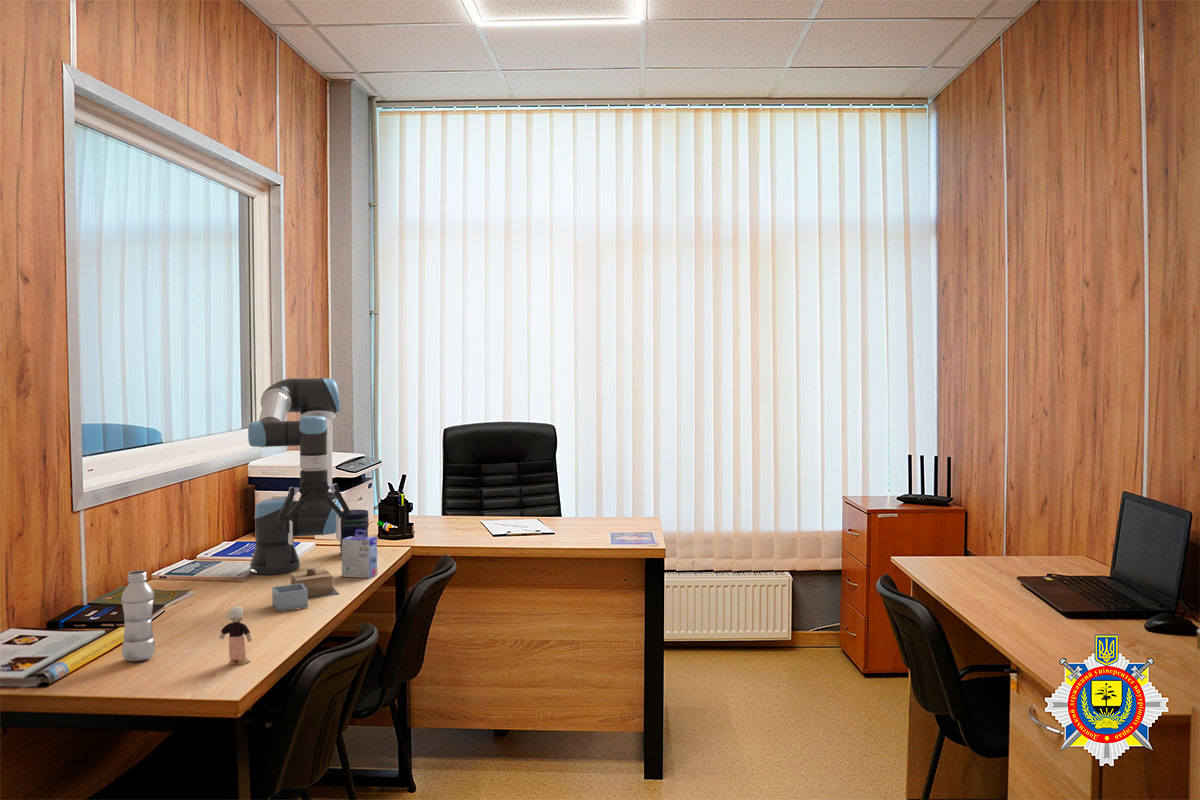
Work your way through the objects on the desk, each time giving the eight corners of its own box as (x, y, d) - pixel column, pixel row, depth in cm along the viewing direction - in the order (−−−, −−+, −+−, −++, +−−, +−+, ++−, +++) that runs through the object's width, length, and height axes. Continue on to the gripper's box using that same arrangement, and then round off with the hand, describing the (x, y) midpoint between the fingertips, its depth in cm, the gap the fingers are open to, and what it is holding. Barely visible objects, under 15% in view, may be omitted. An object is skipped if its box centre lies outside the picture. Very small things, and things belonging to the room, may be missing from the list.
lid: (290, 589, 246) (290, 567, 246) (325, 585, 251) (325, 563, 251) (296, 597, 238) (296, 575, 237) (332, 593, 243) (332, 571, 242)
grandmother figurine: (257, 659, 189) (256, 604, 188) (250, 665, 185) (249, 609, 184) (222, 659, 188) (221, 604, 188) (215, 665, 184) (214, 609, 184)
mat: (284, 589, 247) (284, 589, 247) (329, 584, 253) (329, 583, 253) (292, 600, 236) (292, 599, 236) (339, 594, 242) (339, 593, 242)
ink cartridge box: (378, 574, 265) (377, 529, 264) (370, 578, 260) (369, 532, 259) (349, 573, 267) (349, 528, 266) (341, 577, 262) (340, 531, 261)
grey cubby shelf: (272, 604, 232) (272, 586, 231) (302, 600, 236) (302, 583, 235) (277, 612, 225) (276, 593, 224) (307, 607, 229) (307, 589, 228)
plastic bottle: (130, 655, 191) (128, 569, 190) (160, 654, 192) (158, 568, 191) (116, 665, 185) (114, 576, 184) (148, 664, 185) (146, 575, 185)
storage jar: (355, 558, 287) (355, 515, 287) (333, 555, 292) (333, 513, 291) (375, 552, 296) (374, 510, 296) (353, 549, 301) (353, 508, 300)
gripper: (270, 473, 233) (272, 548, 234) (360, 467, 246) (361, 538, 247) (266, 470, 239) (267, 543, 240) (353, 464, 252) (354, 534, 253)
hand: (314, 541), depth 243 cm, fingers open, 13 cm apart
